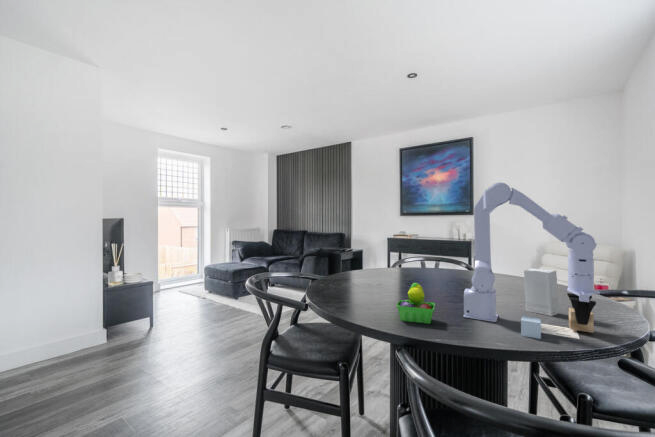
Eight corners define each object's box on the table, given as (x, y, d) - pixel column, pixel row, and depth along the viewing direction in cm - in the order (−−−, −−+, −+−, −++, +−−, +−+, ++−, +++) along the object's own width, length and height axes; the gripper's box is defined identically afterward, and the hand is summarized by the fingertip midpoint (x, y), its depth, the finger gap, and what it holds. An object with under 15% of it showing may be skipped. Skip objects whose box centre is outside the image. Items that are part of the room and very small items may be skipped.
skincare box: (559, 314, 104) (558, 270, 104) (551, 317, 101) (551, 272, 101) (531, 308, 111) (531, 267, 111) (523, 310, 108) (523, 268, 108)
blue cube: (521, 336, 85) (521, 320, 85) (521, 331, 88) (521, 315, 88) (540, 339, 82) (540, 323, 82) (540, 334, 86) (540, 318, 86)
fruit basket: (396, 321, 97) (396, 285, 97) (400, 313, 105) (400, 280, 105) (434, 326, 93) (434, 288, 93) (435, 317, 101) (435, 283, 101)
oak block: (570, 329, 87) (570, 311, 87) (568, 324, 91) (568, 307, 91) (593, 332, 84) (593, 314, 84) (590, 327, 89) (590, 310, 89)
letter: (526, 330, 89) (526, 330, 89) (526, 321, 96) (526, 321, 96) (580, 339, 82) (580, 338, 82) (575, 329, 90) (575, 328, 90)
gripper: (604, 279, 80) (604, 332, 80) (594, 271, 92) (594, 317, 92) (569, 277, 84) (570, 326, 83) (564, 269, 96) (565, 313, 96)
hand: (580, 321), depth 88 cm, fingers closed on oak block, 5 cm apart
